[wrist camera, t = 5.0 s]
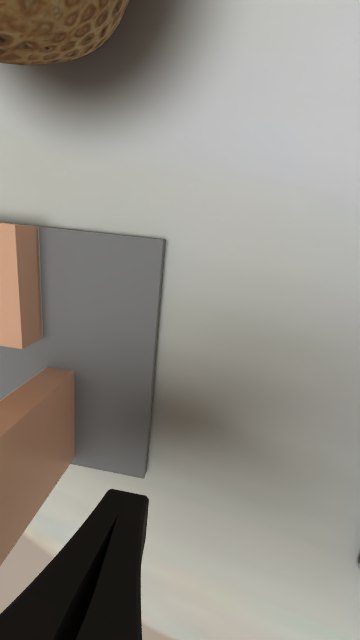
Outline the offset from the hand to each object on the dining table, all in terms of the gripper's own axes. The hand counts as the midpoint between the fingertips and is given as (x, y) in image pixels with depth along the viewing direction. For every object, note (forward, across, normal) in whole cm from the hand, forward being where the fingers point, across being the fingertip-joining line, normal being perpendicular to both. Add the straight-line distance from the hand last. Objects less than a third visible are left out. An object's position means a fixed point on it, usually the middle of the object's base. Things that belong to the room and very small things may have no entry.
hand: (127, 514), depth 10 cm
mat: (+5, +6, -3) cm, 9 cm away
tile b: (+4, +5, 0) cm, 7 cm away
